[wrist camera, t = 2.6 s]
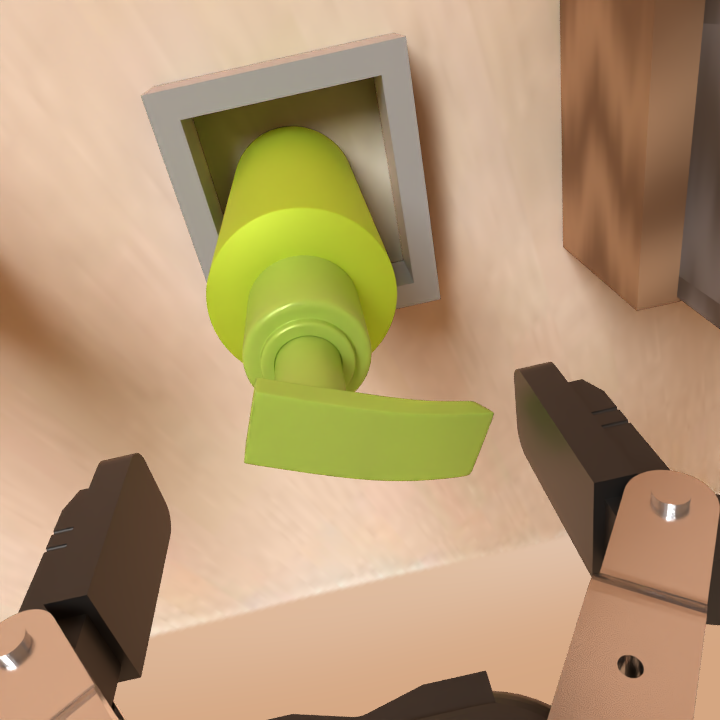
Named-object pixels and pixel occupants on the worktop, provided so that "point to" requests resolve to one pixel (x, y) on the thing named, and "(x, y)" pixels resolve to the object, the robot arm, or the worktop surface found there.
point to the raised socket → (643, 147)
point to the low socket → (289, 77)
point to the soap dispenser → (321, 323)
